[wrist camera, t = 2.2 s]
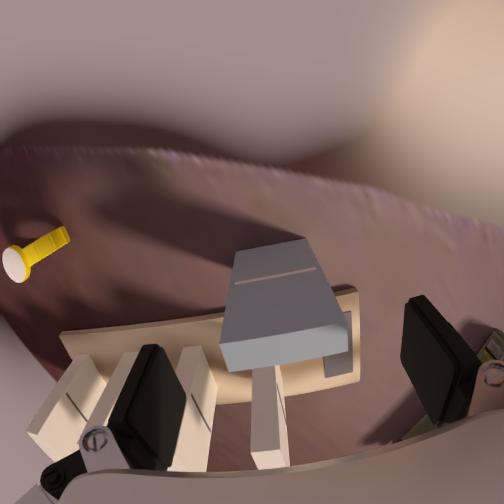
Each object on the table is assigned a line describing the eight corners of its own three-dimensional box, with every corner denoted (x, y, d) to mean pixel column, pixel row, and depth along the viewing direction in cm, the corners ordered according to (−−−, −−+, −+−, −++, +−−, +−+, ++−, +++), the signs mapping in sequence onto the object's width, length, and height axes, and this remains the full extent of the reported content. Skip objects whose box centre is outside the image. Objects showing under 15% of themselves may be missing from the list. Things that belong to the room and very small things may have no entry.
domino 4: (309, 259, 22) (348, 351, 12) (240, 272, 23) (229, 372, 12) (306, 237, 22) (346, 320, 11) (235, 251, 22) (218, 343, 12)
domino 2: (139, 351, 25) (94, 447, 14) (160, 391, 26) (130, 483, 16) (123, 352, 25) (76, 443, 14) (145, 391, 27) (112, 480, 16)
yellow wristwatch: (45, 262, 23) (4, 292, 18) (32, 236, 22) (-11, 261, 17) (84, 242, 22) (40, 272, 16) (70, 211, 21) (22, 236, 16)
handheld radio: (503, 332, 26) (387, 460, 33) (492, 325, 25) (372, 458, 33) (532, 362, 19) (397, 494, 27) (523, 357, 19) (380, 494, 27)
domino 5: (273, 334, 24) (281, 449, 13) (282, 379, 25) (292, 484, 15) (252, 338, 24) (249, 452, 14) (264, 382, 26) (266, 487, 15)
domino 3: (201, 345, 24) (175, 454, 14) (218, 387, 26) (204, 489, 16) (182, 347, 24) (149, 453, 14) (200, 389, 26) (181, 489, 16)
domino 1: (89, 354, 25) (37, 434, 15) (111, 391, 27) (73, 471, 17) (76, 354, 25) (25, 431, 15) (99, 391, 27) (60, 468, 17)
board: (357, 375, 26) (360, 381, 26) (103, 401, 29) (101, 406, 28) (355, 287, 23) (358, 292, 22) (62, 331, 25) (58, 336, 25)
